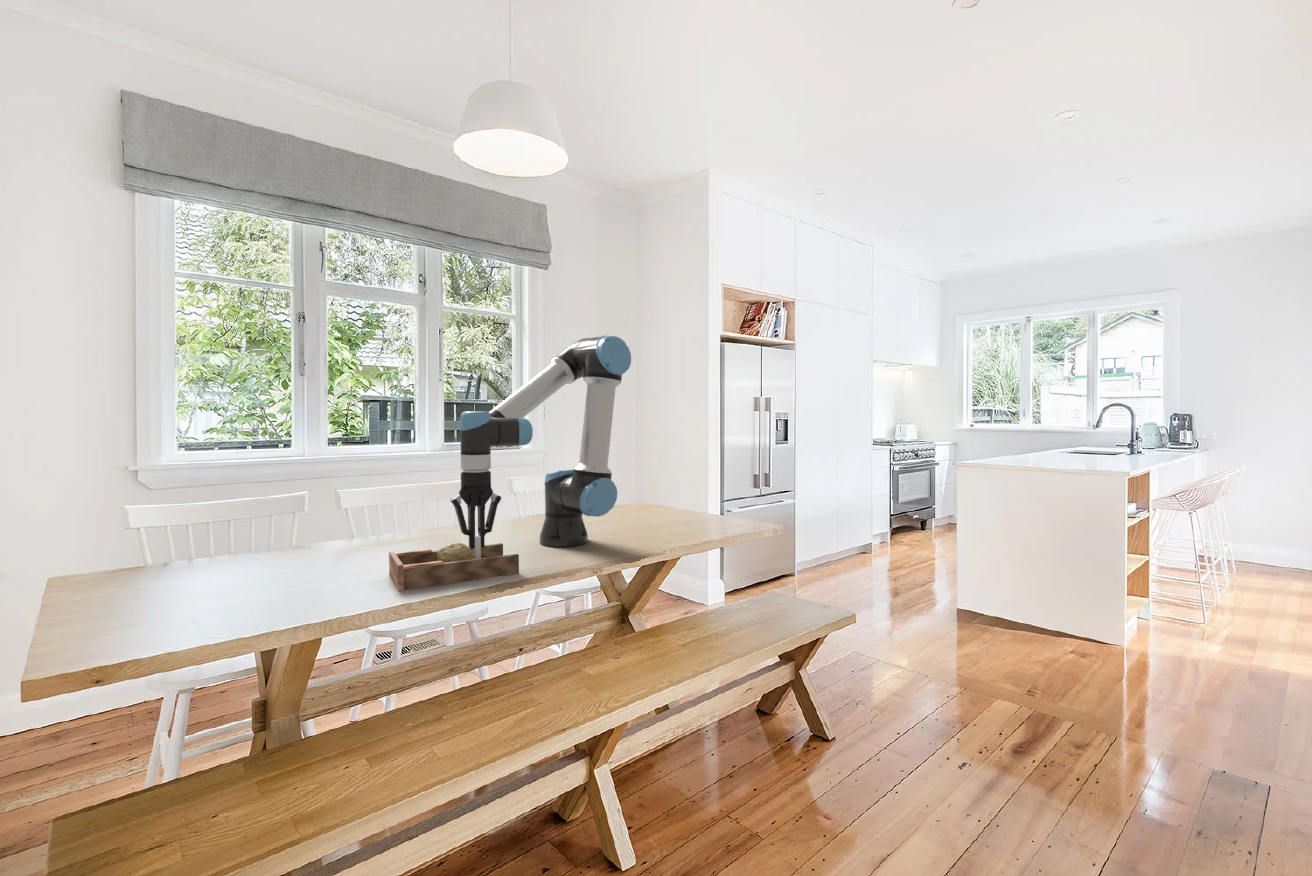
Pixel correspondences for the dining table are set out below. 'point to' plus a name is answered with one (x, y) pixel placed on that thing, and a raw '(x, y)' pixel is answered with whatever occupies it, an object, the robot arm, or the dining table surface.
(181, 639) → the dining table surface
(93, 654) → the dining table surface
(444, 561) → the coral
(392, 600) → the dining table surface
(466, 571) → the tray
